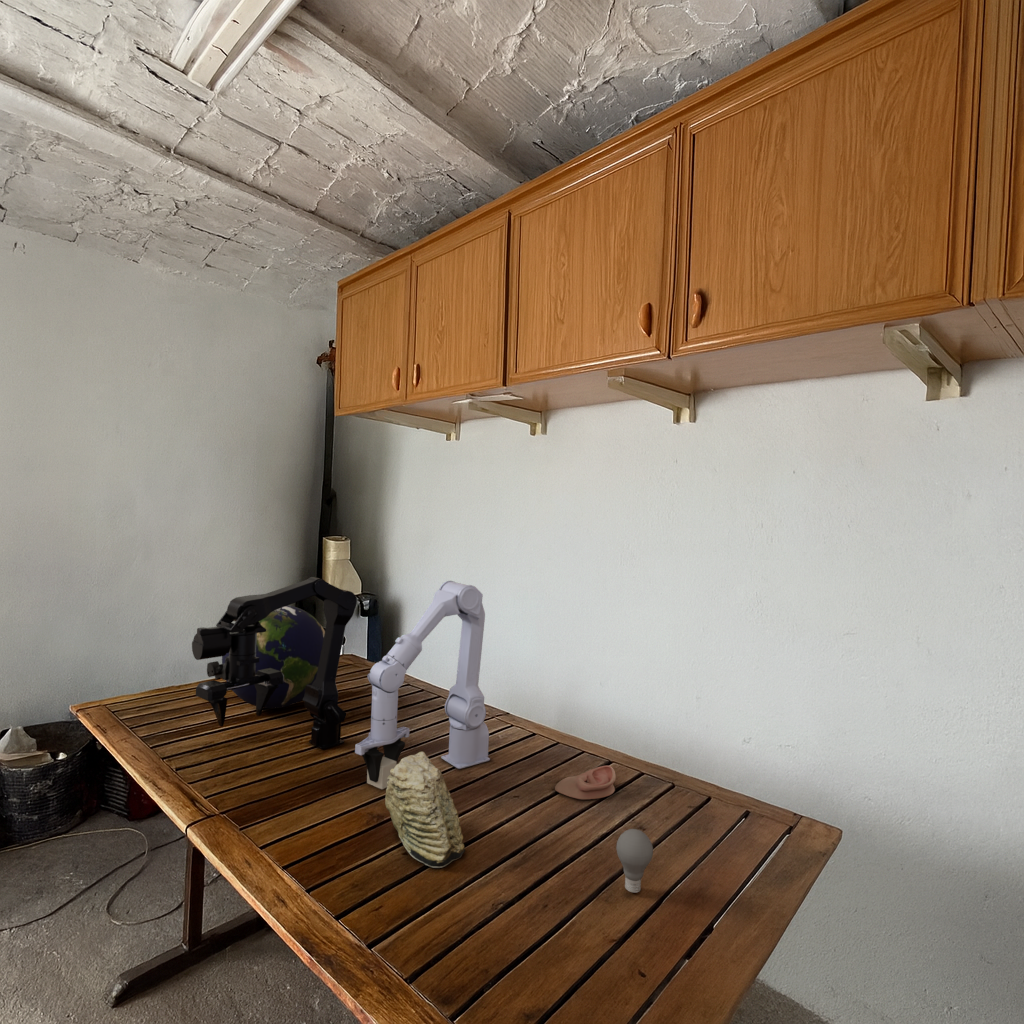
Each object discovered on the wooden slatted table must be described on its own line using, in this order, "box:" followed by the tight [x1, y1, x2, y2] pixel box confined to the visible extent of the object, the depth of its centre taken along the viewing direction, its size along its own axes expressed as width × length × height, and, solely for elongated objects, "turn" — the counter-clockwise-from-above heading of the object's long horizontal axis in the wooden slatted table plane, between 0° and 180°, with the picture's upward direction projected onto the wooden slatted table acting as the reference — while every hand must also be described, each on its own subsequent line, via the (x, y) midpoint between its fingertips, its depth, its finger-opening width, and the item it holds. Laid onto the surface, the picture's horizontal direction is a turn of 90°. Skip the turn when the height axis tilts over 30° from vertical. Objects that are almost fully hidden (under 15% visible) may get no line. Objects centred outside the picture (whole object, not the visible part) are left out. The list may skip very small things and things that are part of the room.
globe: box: [221, 605, 325, 709], centre depth 188 cm, size 30×30×30 cm
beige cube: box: [366, 756, 398, 790], centre depth 141 cm, size 4×5×5 cm
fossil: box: [384, 751, 466, 869], centre depth 117 cm, size 9×18×15 cm, turn 46°
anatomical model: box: [554, 765, 617, 800], centre depth 143 cm, size 13×4×12 cm
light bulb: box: [615, 828, 654, 894], centre depth 106 cm, size 6×6×10 cm
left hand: (240, 720), depth 145 cm, fingers open, 9 cm apart
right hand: (381, 776), depth 141 cm, fingers closed on beige cube, 4 cm apart
